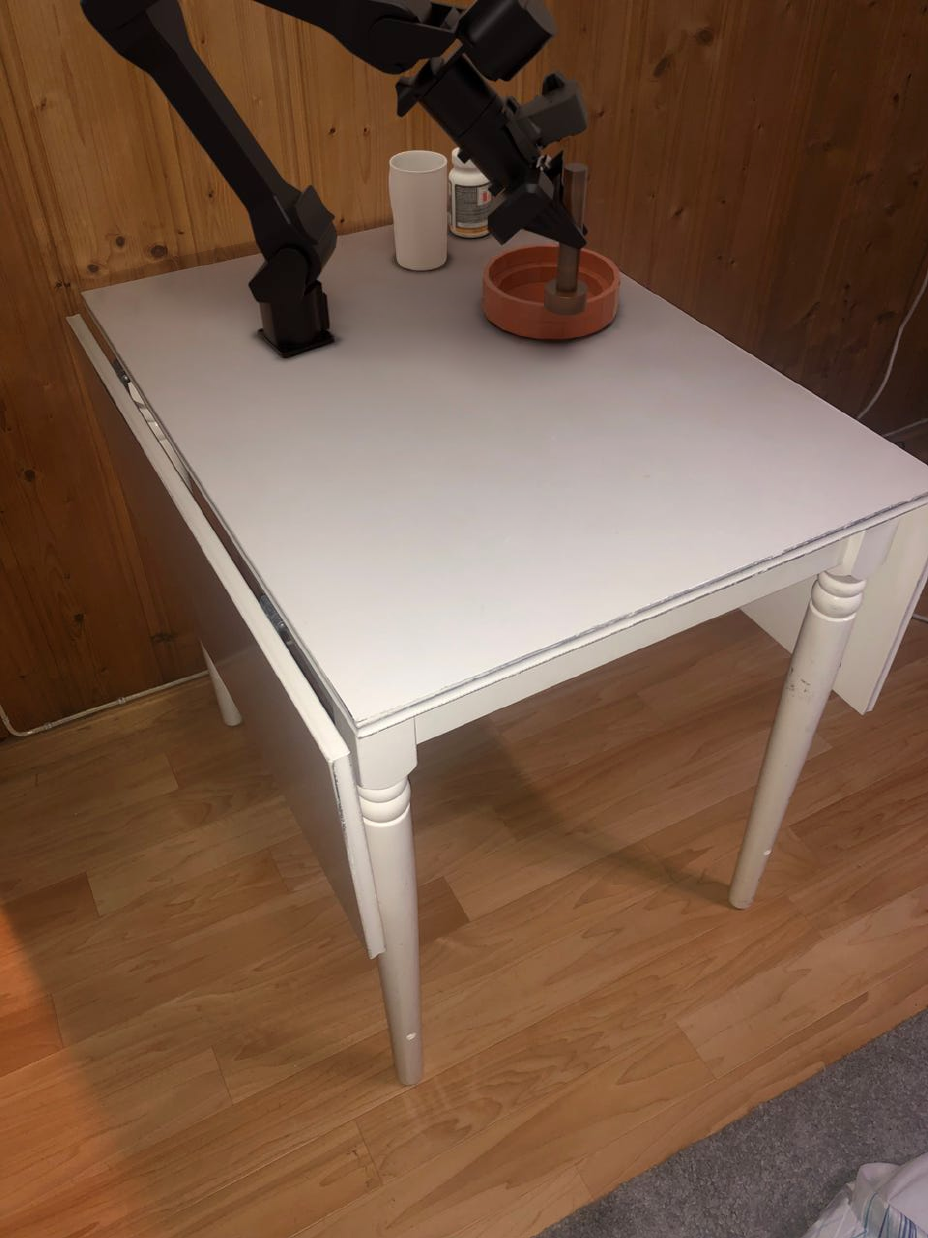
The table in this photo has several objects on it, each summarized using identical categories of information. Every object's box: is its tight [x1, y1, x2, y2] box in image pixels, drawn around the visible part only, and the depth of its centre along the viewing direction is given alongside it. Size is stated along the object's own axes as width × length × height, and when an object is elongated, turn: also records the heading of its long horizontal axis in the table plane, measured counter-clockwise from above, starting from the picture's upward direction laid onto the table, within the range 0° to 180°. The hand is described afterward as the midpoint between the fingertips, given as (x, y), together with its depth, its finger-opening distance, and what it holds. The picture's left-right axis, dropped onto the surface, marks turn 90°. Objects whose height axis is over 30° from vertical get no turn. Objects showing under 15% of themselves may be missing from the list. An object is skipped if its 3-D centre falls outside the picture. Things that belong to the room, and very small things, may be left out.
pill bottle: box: [448, 146, 494, 239], centre depth 129 cm, size 6×6×10 cm
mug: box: [388, 150, 448, 272], centre depth 123 cm, size 10×7×12 cm, turn 34°
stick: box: [544, 162, 589, 316], centre depth 100 cm, size 4×4×14 cm
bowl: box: [481, 243, 622, 340], centre depth 116 cm, size 15×15×4 cm
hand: (584, 240), depth 100 cm, fingers closed on stick, 2 cm apart
